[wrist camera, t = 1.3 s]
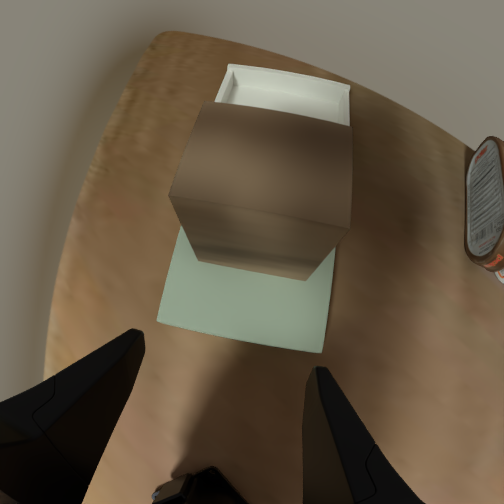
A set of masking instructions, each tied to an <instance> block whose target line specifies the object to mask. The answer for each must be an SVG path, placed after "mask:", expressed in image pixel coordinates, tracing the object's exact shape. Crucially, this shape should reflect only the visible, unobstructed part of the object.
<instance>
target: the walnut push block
mask: <svg viewBox="0 0 504 504" xmlns="http://www.w3.org/2000/svg"><path fill="white" fill-rule="evenodd" d="M352 176H353V127H351V126H347V125H343V124H339V123H335V122H331V121H326V120H322V119H317V118H313V117H308V116H303V115H298V114H293V113H288V112H282V111H277V110H271V109H265V108H258V107H251V106H244V105H237V104H229V103H220V102H210V101H204V103H203V105H202V108H201V110H200V112H199V115H198V117H197V120H196V122H195V125H194V127H193V130H192V132H191V135H190V137H189V140H188V142H187V145H186V147H185V150H184V153H183V155H182V158H181V161H180V163H179V166H178V169H177V172H176V175H175V177H174V180H173V183H172V186H171V189H170V192H169V195H168V196H169V198H170V200H171V202H172V205H173V207H174V209H175V212H176V214H177V216H178V218H179V221H180V223H181V225H182V227H183V229H184V232H185V234H186V236H187V238H188V240H189V243H190V245H191V247H192V249H193V251H194V253H195V255H196V258H197V260H198V261H200V262H205V263H211V264H216V265H221V266H226V267H231V268H236V269H242V270H247V271H252V272H257V273H263V274H268V275H273V276H279V277H284V278H290V279H295V280H301V281H306V280H307V279H308V278H309V277H310V276H311V274H312V273H313V272H314V271H315V270H316V269H317V268H318V266H319V265H320V264H321V263H322V262H323V261H324V259H325V258H326V257H327V256H328V255H329V253H330V252H331V251H332V250H333V249H334V247H335V246H336V245H337V244H338V243H339V241H340V240H341V239H342V238H343V237H344V235H345V234H346V233H347V232H348V231H349V229H350V223H351V204H352Z"/></svg>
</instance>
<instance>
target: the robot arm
mask: <svg viewBox="0 0 504 504" xmlns="http://www.w3.org/2000/svg"><path fill="white" fill-rule="evenodd" d="M144 354H145V340H144V333H143V331H141V330H137V329H133V328H132V329H130V330H128V331H126V332H125V333H123V334H121V335H120V336H118V337H116V338H115V339H113V340H111V341H110V342H108V343H106V344H105V345H103V346H102V347H100V348H98V349H97V350H95V351H93V352H92V353H90V354H88V355H87V356H85V357H83V358H82V359H80V360H78V361H77V362H75V363H73V364H72V365H70V366H68V367H67V368H65V369H63V370H62V371H60V372H59V373H57V374H56V375H53V376H52V377H50V378H48V379H47V380H45V381H43V382H42V383H40V384H38V385H36V386H34V387H33V388H30V389H28V390H26V391H24V392H22V393H20V394H18V395H16V396H13V397H11V398H9V399H7V400H4V401H2V402H0V504H82V502H83V499H84V497H85V494H86V492H87V490H88V487H89V485H90V482H91V480H92V477H93V475H94V473H95V471H96V468H97V466H98V464H99V461H100V459H101V457H102V455H103V452H104V450H105V448H106V446H107V443H108V441H109V439H110V437H111V435H112V432H113V430H114V428H115V426H116V424H117V422H118V419H119V417H120V415H121V413H122V411H123V409H124V407H125V405H126V402H127V400H128V398H129V396H130V394H131V392H132V389H133V386H134V383H135V380H136V377H137V375H138V372H139V369H140V366H141V363H142V360H143V357H144ZM302 445H303V504H425V503H424V502H423V501H422V500H420V499H419V498H418V497H417V495H416V494H415V493H414V492H413V491H412V490H411V488H410V487H409V486H408V485H407V484H406V483H405V481H404V480H403V479H402V478H401V477H400V476H399V474H398V473H397V472H396V471H395V469H394V468H393V467H392V466H391V464H390V463H389V462H388V460H387V459H386V457H385V456H384V454H383V453H382V452H381V450H380V448H379V447H378V445H377V444H375V441H374V439H373V438H372V436H371V435H370V433H369V432H368V430H367V429H366V427H365V425H364V424H363V422H362V421H361V419H360V418H359V416H358V415H357V413H356V412H355V410H354V409H353V407H352V405H351V404H350V402H349V401H348V399H347V398H346V396H345V395H344V393H343V392H342V390H341V388H340V387H339V385H338V384H337V382H336V381H335V379H334V378H333V376H332V375H331V373H330V372H329V370H328V369H327V368H326V367H322V366H314V367H313V369H312V371H311V374H310V376H309V378H308V381H307V384H306V391H305V402H304V413H303V423H302ZM211 470H212V471H214V472H215V474H211V473H210V472H209V471H211ZM156 495H157V496H156ZM152 499H153V500H154V501H153V503H152V504H249V503H248V502H247V501H246V500H245V499H244V498H243V497H242V496H241V495H240V493H239V492H238V491H237V490H236V489H235V488H234V487H233V486H232V485H231V483H230V482H229V481H228V480H227V479H226V478H225V477H224V475H223V474H222V473H221V472H220V471H219V470H218V468H216V467H214V466H210V467H207V468H205V469H203V470H201V471H199V472H197V473H195V474H193V475H192V474H189V473H187V474H185V475H183V476H181V477H179V478H177V479H174V480H172V481H170V482H168V483H165V484H164V485H163V487H162V488H161V489H160V490H158V491H155V492H154V493H153V494H152Z"/></svg>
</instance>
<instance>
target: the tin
mask: <svg viewBox="0 0 504 504" xmlns="http://www.w3.org/2000/svg"><path fill="white" fill-rule="evenodd" d="M465 186H466V219H465V249H466V253H467V255H468V257H469V258H470V260H471V261H473V262H474V263H476V264H477V265H479V266H482V267H484V268H485V269H486V270H488V271H490V272H498V271H501V270H503V269H504V141H502V140H500V139H499V138H497V137H494V136H489V137H487V138H486V139H485V140H484V141H483V142H482V143H481V144H480V146H479V147H478V149H477V150H476V151H475V152H474V154H473V155H472V158H471V160H470V163H469V166H468V170H467V175H466V184H465Z"/></svg>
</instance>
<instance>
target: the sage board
mask: <svg viewBox="0 0 504 504" xmlns="http://www.w3.org/2000/svg"><path fill="white" fill-rule="evenodd" d="M335 249H336V246H335V247H334V249H333V250H332V251H331V252H330V253H329V255H328V256H327V257H326V258H325V259H324V261H323V262H322V263H321V264H320V265H319V266H318V268H317V269H316V270H315V271H314V272H313V273H312V274H311V276H310V277H309V278H308V279H307V280H306V281H301V280H295V279H290V278H284V277H279V276H273V275H268V274H263V273H257V272H252V271H247V270H242V269H236V268H231V267H226V266H221V265H216V264H211V263H205V262H200V261H198V260H197V258H196V255H195V253H194V251H193V249H192V247H191V245H190V243H189V240H188V238H187V236H186V234H185V232H184V229H183V227H182V225H181V228H180V231H179V235H178V238H177V242H176V246H175V249H174V253H173V257H172V260H171V264H170V268H169V272H168V276H167V279H166V283H165V287H164V291H163V296H162V300H161V304H160V308H159V312H158V317H157V321H158V322H160V323H163V324H167V325H171V326H175V327H179V328H184V329H188V330H192V331H197V332H201V333H206V334H210V335H215V336H220V337H224V338H229V339H234V340H240V341H245V342H250V343H256V344H261V345H267V346H273V347H279V348H285V349H291V350H298V351H304V352H311V353H322V349H323V343H324V336H325V330H326V323H327V316H328V309H329V301H330V294H331V285H332V277H333V268H334V259H335Z"/></svg>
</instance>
